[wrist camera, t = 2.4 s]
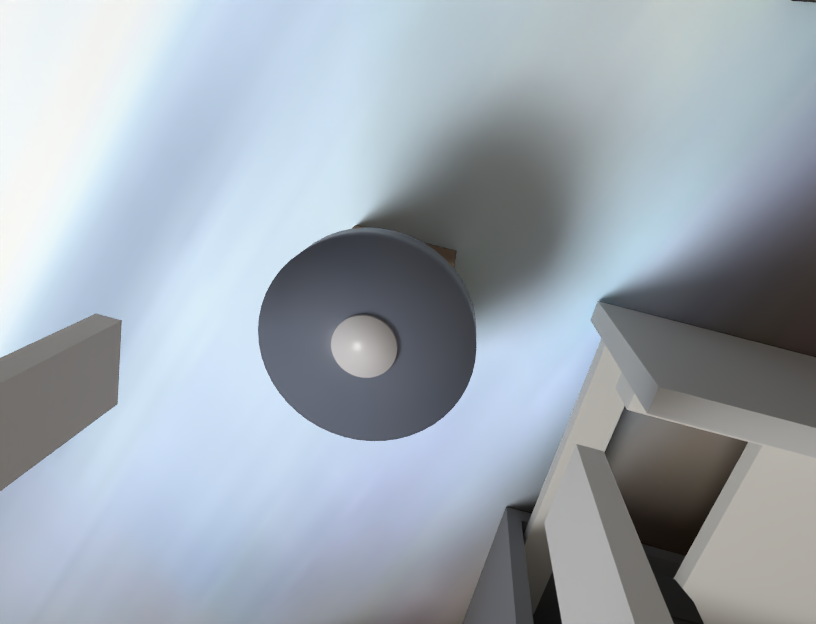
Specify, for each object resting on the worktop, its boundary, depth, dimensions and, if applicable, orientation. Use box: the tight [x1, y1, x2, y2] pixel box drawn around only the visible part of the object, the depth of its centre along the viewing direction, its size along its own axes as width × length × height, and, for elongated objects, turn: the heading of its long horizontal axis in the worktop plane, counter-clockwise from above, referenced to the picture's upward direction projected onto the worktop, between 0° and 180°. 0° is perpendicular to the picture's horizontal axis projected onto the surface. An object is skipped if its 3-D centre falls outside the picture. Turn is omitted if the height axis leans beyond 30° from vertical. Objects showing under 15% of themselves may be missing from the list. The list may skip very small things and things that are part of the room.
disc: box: [258, 227, 476, 441], centre depth 20 cm, size 8×8×2 cm
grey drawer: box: [523, 301, 816, 624], centre depth 24 cm, size 18×19×9 cm
